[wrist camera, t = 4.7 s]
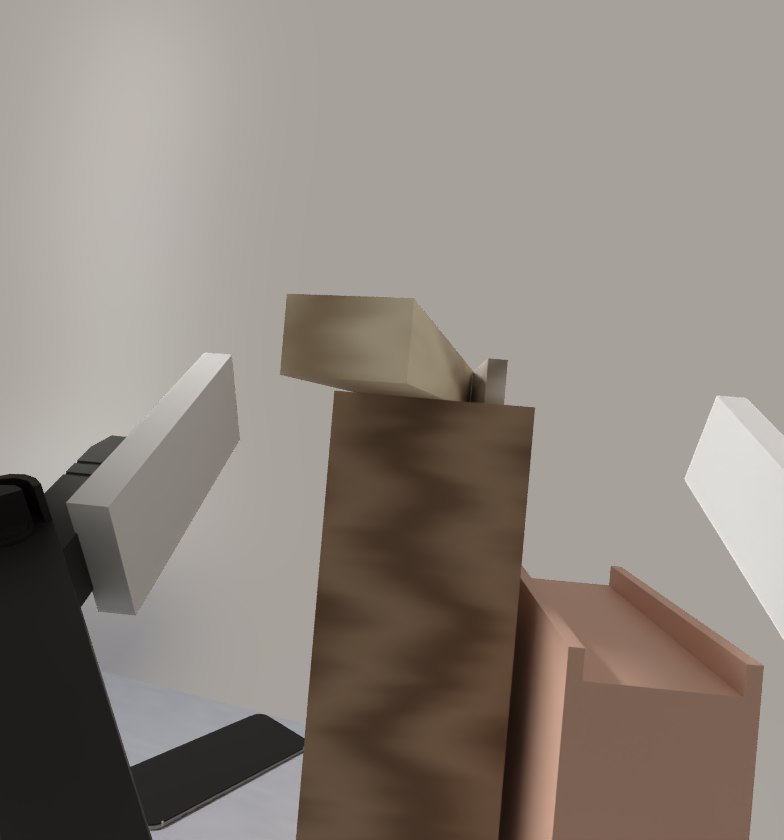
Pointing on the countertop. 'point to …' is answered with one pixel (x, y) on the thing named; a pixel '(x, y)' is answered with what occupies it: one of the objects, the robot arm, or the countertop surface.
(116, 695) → the countertop surface
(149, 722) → the countertop surface
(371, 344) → the slat
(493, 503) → the stand
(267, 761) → the smartphone
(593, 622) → the pink rectangular box
